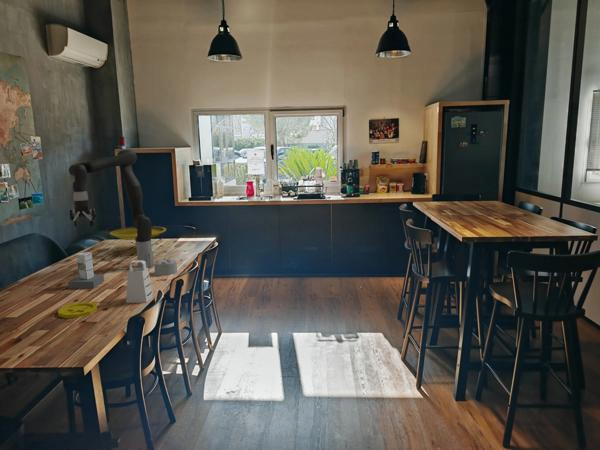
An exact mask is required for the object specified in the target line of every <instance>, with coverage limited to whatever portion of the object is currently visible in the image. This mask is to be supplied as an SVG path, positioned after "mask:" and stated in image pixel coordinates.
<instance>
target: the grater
mask: <svg viewBox="0 0 600 450" xmlns="http://www.w3.org/2000/svg"><path fill="white" fill-rule="evenodd" d="M138 262H142V263H143V268H138V267H133V265H132V264H133V263H138ZM128 267H129V268H128V271H127V279H126V281H127V282H126V297H125V298H126V300H125V302H126V303H127V304H128V303H130V304H131V303H135V304H137V303H145V304H146V303H148V302H149V301H150V300H151V299H152V298H153V297H154V292H153V291H154V290H153V286H152V281H151V279H150V278H151V277H150V273H149V268H146V262H145V261H144V260H137V259H136V260H135V259H134V260H133V259H132V260H131V261H130V262H129V263H128Z"/></svg>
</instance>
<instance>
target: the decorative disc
mask: <svg viewBox="0 0 600 450" xmlns="http://www.w3.org/2000/svg"><path fill="white" fill-rule="evenodd" d="M97 311H98V304H97V303H94V302H91V301H87V302H75V303H71V304H66V305H63V307H60V308H58V311H57V315H58V317H59V318H64V319H79V318H81V317H82V318H83V317H86V316H87V317H88V316H91V315H92V314H94V313H96V312H97Z"/></svg>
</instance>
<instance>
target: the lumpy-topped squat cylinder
mask: <svg viewBox="0 0 600 450" xmlns="http://www.w3.org/2000/svg"><path fill="white" fill-rule="evenodd" d="M153 268H154V276H157V277H163V276H162V275H166V276H172V275H175V274H177V273H178V263H177V260H175V259H172V258H167V257H164V258H162V259H157V260H154V265H153ZM171 274H172V275H171Z"/></svg>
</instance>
